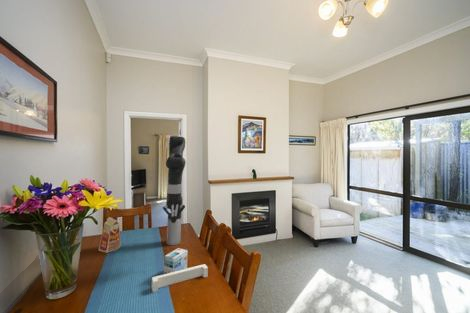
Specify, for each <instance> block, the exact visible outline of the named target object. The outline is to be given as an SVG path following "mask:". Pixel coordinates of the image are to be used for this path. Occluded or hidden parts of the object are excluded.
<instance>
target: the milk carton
mask: <svg viewBox="0 0 470 313" xmlns="http://www.w3.org/2000/svg"><path fill="white" fill-rule="evenodd" d="M120 231H121V229H120V223H119V222H118V220H117V219H114V218H112V217H110V216H109V217H108V219H107V221H105V222H104V225H103V229H102V233H101V238H100V241H99V246H98V251H99V252H102V253H106V254H107V253H109V252H113V251H117V250H118V249H120V248H121V232H120Z"/></svg>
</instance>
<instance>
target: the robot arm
mask: <svg viewBox="0 0 470 313" xmlns="http://www.w3.org/2000/svg"><path fill="white" fill-rule="evenodd" d="M185 147H186V138H185V137H184V136H175V135H173V136H172V135H171V136H169V140H168V158H167V159H166V161H165V166H166V168H167V191H166V192H167V193H166V198H165V199H166V200H165V201H166V202H165V203H166V204H165V205H164V206H162V210H163V211H164V212H165V213H166V214H167V230H166V244H167V245H168V246H176V245H179V244H180V243H181V237H182V236H181V235H182V234H181V233H182V212H183V211H184V210H185V208H186V205H185V204H183V196H182V191H183V190H182V182H183V180H182V178H183V172H184V170H185V166H186V159H185V158H184V157H183V155H184V151H185Z"/></svg>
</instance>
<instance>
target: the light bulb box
mask: <svg viewBox="0 0 470 313" xmlns="http://www.w3.org/2000/svg"><path fill="white" fill-rule="evenodd" d="M188 253H189V251H188V249H184V248H180V247H178V248H176V249H174V250H172V251H171V252H169V253H167V254H166V255H164V264H163V265H164V267H163V274H167V273H171V272H175V271H179V270H183V269H187V268H188V255H189V254H188Z"/></svg>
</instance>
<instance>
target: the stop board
mask: <svg viewBox="0 0 470 313" xmlns="http://www.w3.org/2000/svg"><path fill="white" fill-rule="evenodd" d="M208 275H209V267H208V266H207V264H205V263H204V264H200V265H196V266H191V267H187V269H183V270H179V271H175V272H171V273H167V274H164V273H163V274H160V275H156V276H153V277H151V290H152V293H157V292H158V291H159V289H160V288H163V287H167V286H168V287H169V286H170V285H175V284H177V283H181V282H185V281H189V280H192V279H195V278H199V277H203V278H208Z"/></svg>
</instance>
